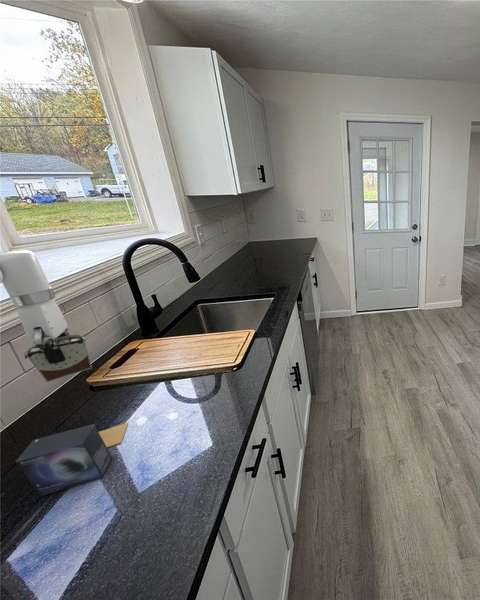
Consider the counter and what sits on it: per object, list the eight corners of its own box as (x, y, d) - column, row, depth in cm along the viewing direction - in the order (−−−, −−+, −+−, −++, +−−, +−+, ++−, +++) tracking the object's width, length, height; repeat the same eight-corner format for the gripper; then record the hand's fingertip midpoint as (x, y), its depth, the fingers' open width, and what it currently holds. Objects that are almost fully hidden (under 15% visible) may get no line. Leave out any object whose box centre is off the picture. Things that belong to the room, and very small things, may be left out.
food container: (99, 358, 97) (85, 329, 94) (99, 366, 93) (85, 336, 89) (42, 375, 90) (25, 345, 86) (39, 384, 85) (21, 352, 82)
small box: (38, 499, 65) (12, 462, 61) (56, 474, 70) (32, 439, 66) (102, 479, 68) (81, 442, 64) (114, 456, 74) (95, 422, 70)
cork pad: (50, 467, 72) (49, 466, 72) (63, 444, 79) (63, 443, 78) (121, 443, 78) (120, 442, 78) (128, 423, 84) (127, 422, 84)
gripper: (30, 292, 89) (58, 347, 95) (-6, 311, 74) (30, 375, 81) (65, 286, 92) (90, 340, 98) (38, 304, 78) (69, 366, 84)
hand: (63, 355), depth 89 cm, fingers closed on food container, 6 cm apart
